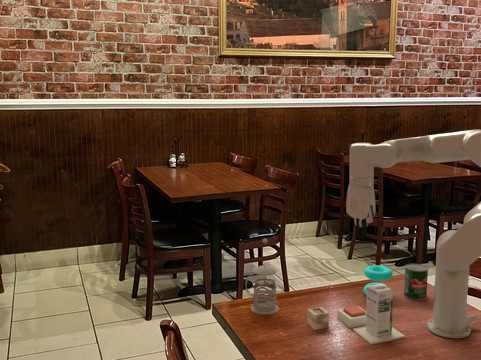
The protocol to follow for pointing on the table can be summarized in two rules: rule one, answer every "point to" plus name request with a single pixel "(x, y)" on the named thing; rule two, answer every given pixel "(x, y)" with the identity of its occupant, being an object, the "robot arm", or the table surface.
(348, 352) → the table surface
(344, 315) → the button housing
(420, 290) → the canned tomato
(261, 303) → the french press
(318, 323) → the letter cube
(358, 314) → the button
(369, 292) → the syrup box
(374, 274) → the donuts
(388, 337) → the grey pad
